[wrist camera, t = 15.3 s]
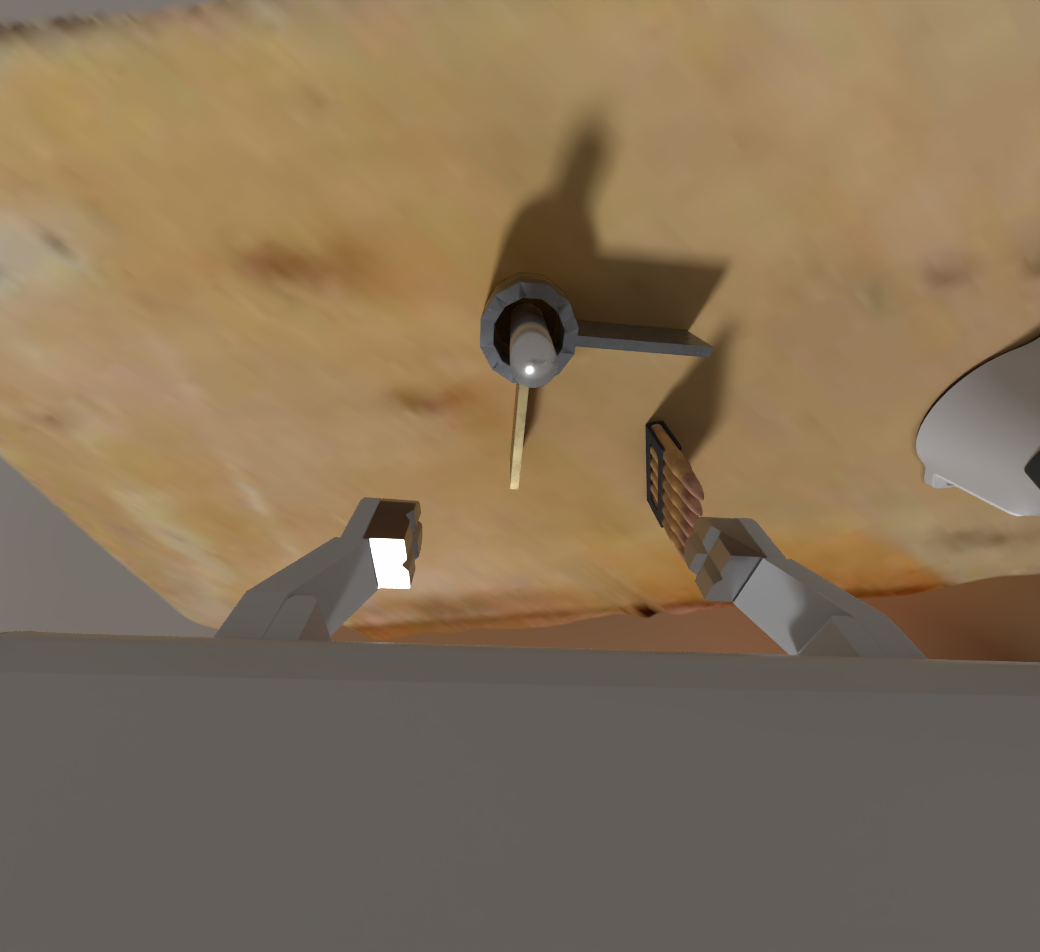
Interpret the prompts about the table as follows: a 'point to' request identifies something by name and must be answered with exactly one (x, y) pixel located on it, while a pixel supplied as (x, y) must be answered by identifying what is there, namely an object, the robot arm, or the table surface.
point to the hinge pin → (531, 347)
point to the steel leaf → (579, 329)
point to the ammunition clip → (671, 485)
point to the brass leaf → (520, 392)
